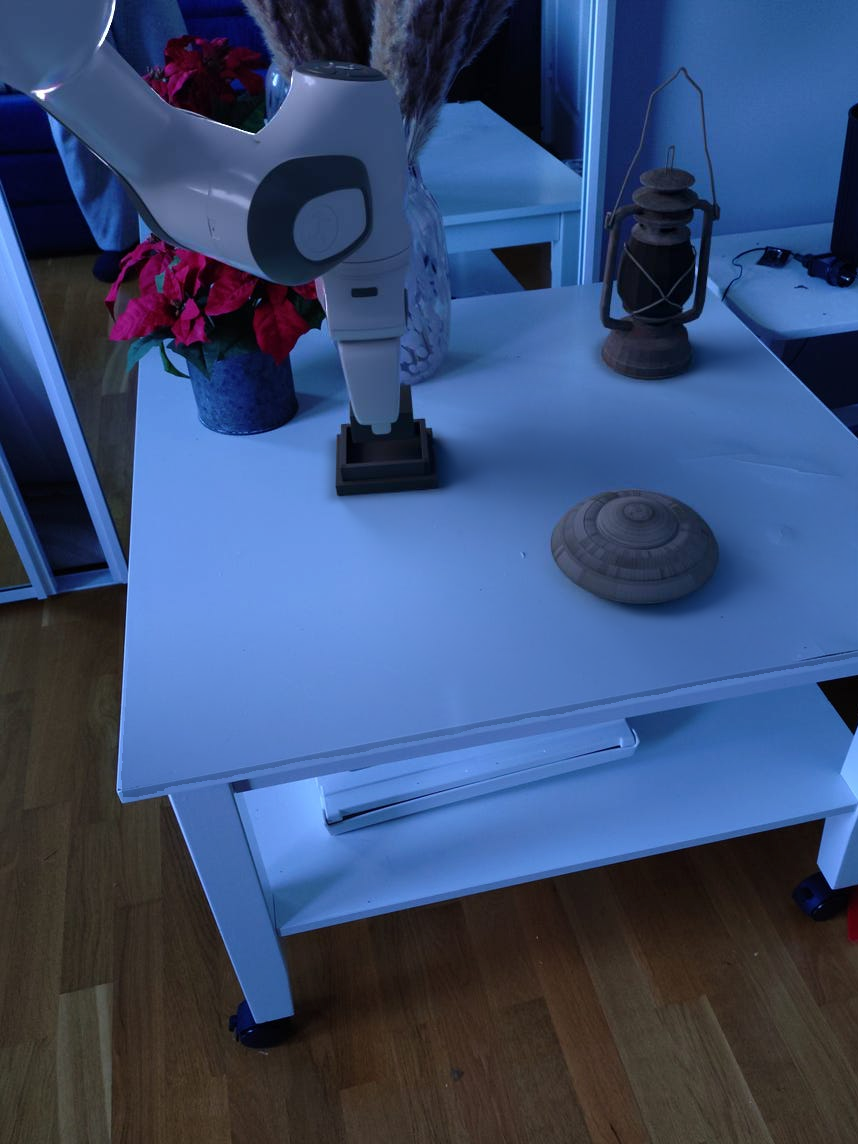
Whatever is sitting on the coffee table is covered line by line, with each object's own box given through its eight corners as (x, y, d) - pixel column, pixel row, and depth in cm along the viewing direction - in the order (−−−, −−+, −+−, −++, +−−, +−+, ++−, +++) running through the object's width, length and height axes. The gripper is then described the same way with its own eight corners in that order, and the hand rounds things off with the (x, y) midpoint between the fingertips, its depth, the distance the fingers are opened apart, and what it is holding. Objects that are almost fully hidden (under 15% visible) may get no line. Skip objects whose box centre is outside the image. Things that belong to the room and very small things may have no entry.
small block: (353, 443, 90) (348, 413, 88) (353, 415, 94) (349, 384, 91) (415, 438, 90) (412, 408, 88) (412, 410, 94) (410, 380, 91)
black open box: (337, 495, 92) (333, 472, 90) (338, 443, 98) (334, 420, 96) (437, 488, 93) (436, 465, 90) (432, 436, 99) (431, 414, 97)
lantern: (683, 328, 114) (724, 45, 92) (712, 373, 106) (765, 77, 85) (584, 339, 112) (602, 54, 91) (607, 385, 105) (633, 88, 83)
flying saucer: (534, 516, 89) (536, 469, 85) (685, 497, 91) (694, 450, 87) (571, 626, 79) (574, 578, 75) (740, 603, 80) (752, 555, 76)
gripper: (331, 226, 88) (349, 359, 98) (326, 333, 74) (348, 475, 84) (397, 222, 88) (409, 355, 98) (406, 327, 74) (418, 470, 84)
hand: (381, 411), depth 91 cm, fingers closed on small block, 5 cm apart
